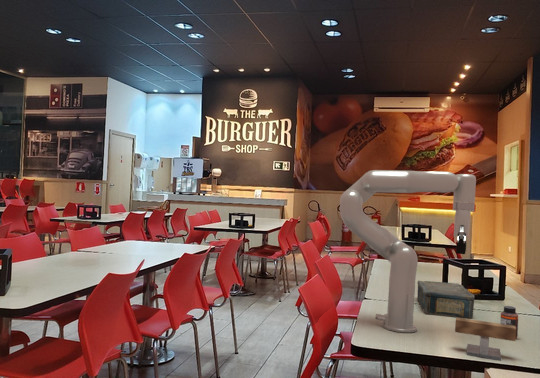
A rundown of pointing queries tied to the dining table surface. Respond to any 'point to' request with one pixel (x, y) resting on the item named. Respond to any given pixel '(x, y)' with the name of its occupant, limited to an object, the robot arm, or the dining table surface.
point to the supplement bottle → (510, 317)
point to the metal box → (445, 299)
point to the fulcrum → (483, 350)
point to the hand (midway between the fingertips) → (460, 252)
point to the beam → (485, 329)
